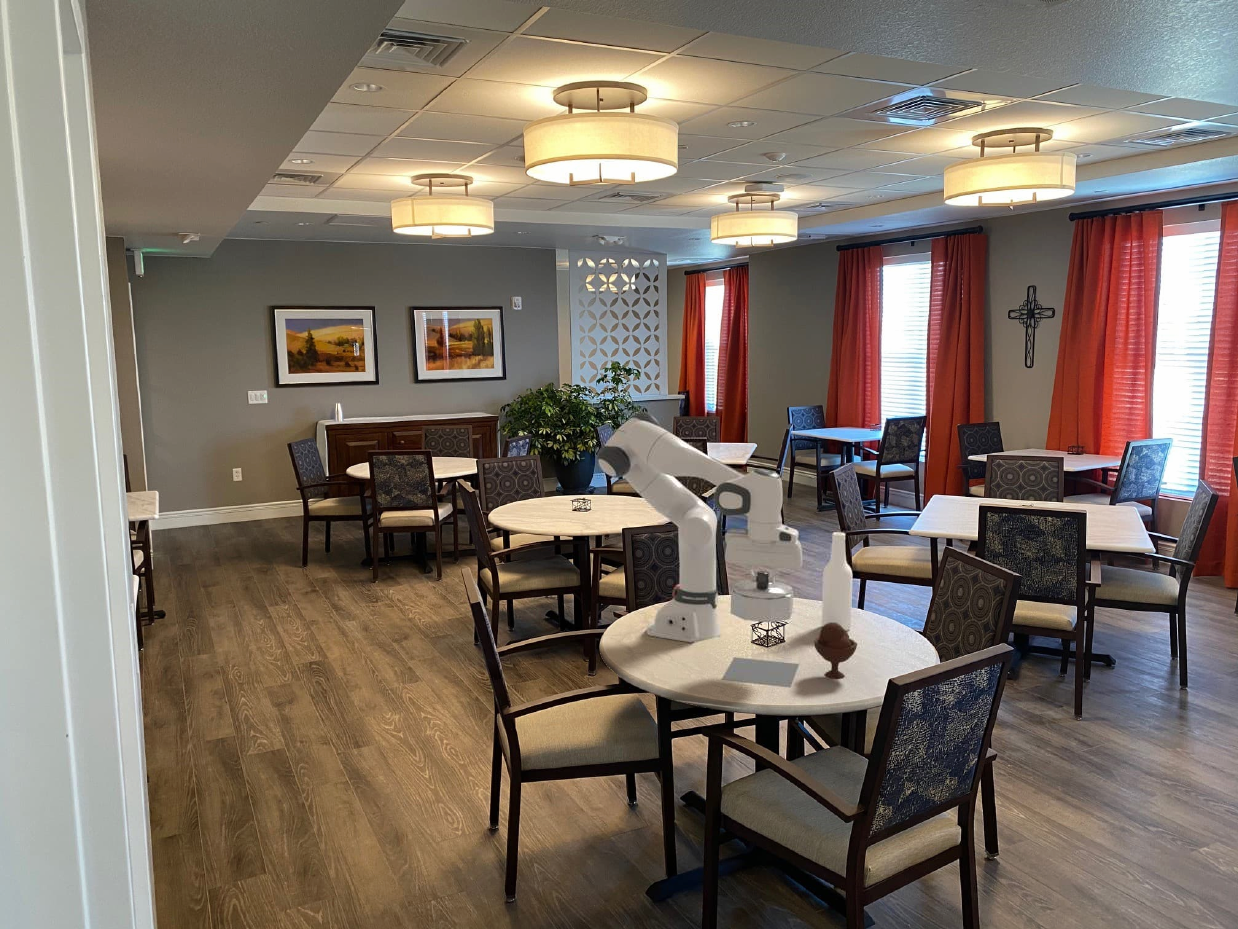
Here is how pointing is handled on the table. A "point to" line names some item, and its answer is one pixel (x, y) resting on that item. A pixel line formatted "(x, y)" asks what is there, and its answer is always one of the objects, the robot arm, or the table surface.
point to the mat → (761, 672)
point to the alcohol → (837, 586)
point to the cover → (762, 600)
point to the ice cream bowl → (834, 647)
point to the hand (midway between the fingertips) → (762, 582)
